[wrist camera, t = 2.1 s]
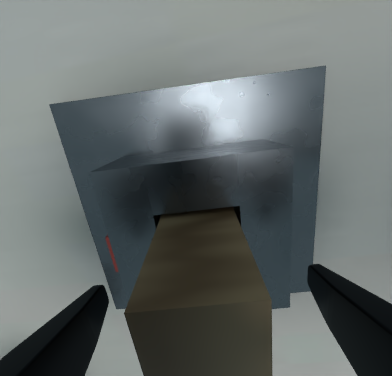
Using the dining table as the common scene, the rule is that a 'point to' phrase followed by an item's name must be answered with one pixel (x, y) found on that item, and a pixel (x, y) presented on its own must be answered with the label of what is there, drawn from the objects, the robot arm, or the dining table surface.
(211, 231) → the post
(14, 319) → the dining table surface
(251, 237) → the stand
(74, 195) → the dining table surface
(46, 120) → the dining table surface
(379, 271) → the dining table surface
